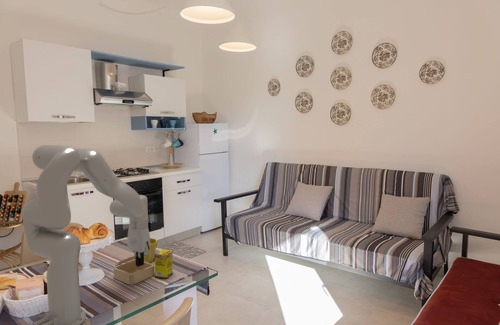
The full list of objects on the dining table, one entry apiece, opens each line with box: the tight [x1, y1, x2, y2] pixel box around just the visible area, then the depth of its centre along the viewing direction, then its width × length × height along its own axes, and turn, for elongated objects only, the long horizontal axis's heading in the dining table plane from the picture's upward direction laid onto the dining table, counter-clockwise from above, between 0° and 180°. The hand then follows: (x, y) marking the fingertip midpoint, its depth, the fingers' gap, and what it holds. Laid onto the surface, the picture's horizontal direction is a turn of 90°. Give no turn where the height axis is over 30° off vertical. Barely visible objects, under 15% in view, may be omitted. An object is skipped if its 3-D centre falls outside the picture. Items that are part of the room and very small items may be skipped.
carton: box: [113, 259, 155, 286], centre depth 153 cm, size 13×13×5 cm
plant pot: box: [144, 237, 158, 263], centre depth 171 cm, size 10×10×10 cm
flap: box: [114, 255, 136, 267], centre depth 155 cm, size 11×6×1 cm
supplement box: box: [154, 249, 174, 280], centre depth 154 cm, size 6×6×11 cm
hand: (139, 265), depth 151 cm, fingers closed
